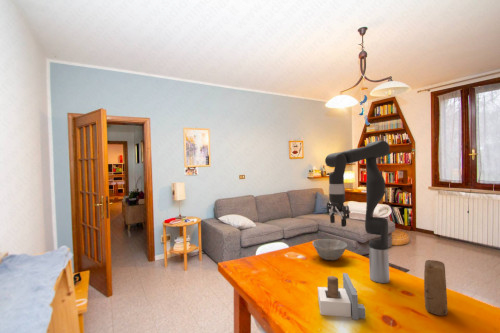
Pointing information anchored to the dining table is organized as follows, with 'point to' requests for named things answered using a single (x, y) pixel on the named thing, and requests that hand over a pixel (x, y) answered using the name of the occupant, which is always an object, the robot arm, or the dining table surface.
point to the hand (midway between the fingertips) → (337, 224)
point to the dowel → (332, 287)
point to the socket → (334, 303)
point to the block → (435, 287)
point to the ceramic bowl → (329, 248)
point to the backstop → (353, 298)
